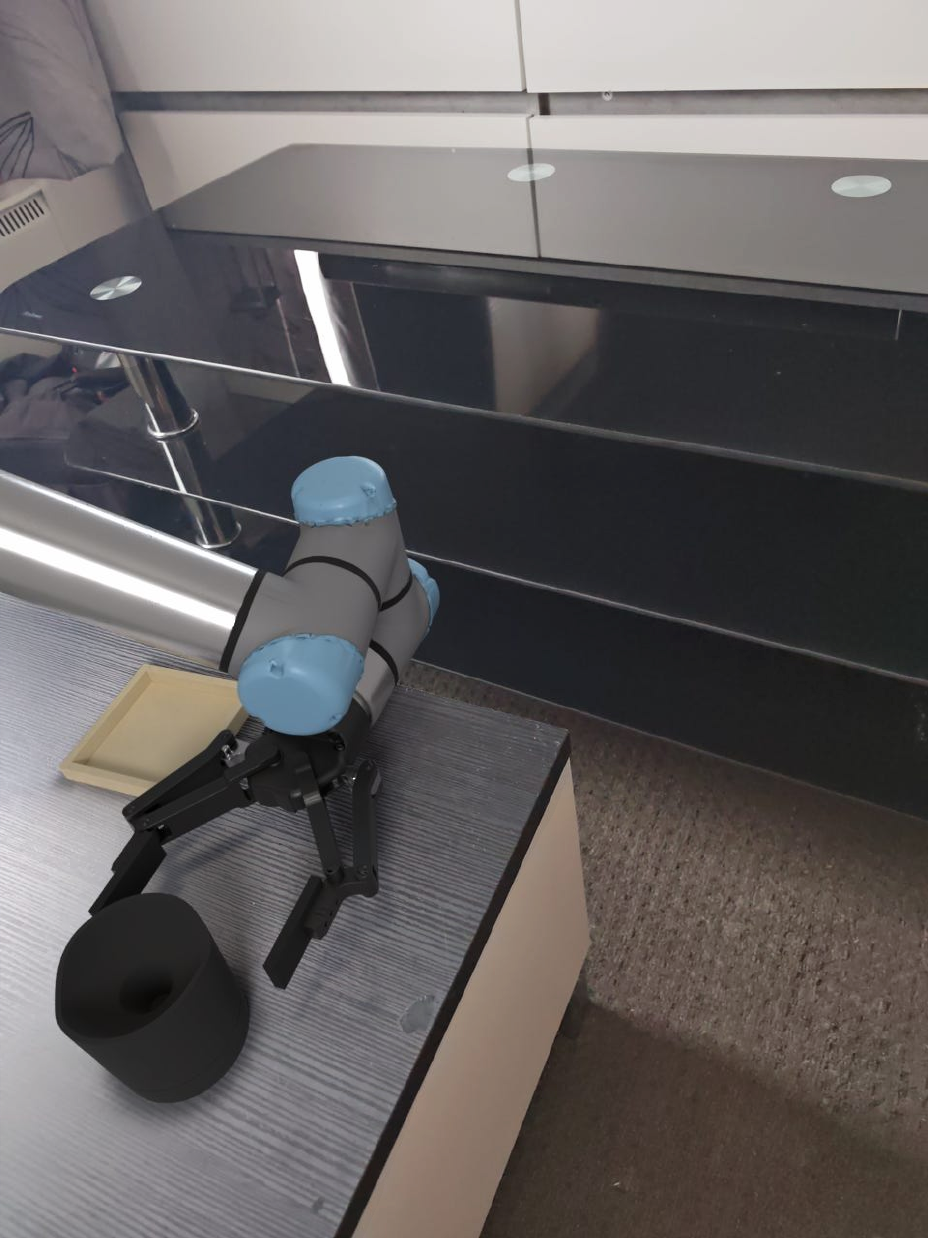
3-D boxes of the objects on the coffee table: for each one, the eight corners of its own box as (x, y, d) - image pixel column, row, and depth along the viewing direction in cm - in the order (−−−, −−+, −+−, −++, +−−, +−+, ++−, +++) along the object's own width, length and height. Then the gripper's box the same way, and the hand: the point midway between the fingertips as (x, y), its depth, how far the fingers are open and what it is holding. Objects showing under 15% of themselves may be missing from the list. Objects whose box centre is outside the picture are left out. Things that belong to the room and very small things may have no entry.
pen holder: (282, 992, 62) (235, 915, 55) (205, 1135, 56) (142, 1068, 49) (172, 952, 65) (115, 876, 59) (88, 1083, 59) (14, 1014, 53)
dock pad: (68, 781, 79) (57, 767, 78) (152, 678, 88) (143, 663, 86) (186, 811, 75) (177, 797, 73) (263, 699, 83) (256, 684, 82)
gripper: (483, 767, 71) (369, 1032, 57) (216, 712, 80) (60, 930, 66) (468, 701, 66) (339, 974, 52) (185, 651, 75) (10, 873, 61)
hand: (183, 950), depth 59 cm, fingers open, 13 cm apart
